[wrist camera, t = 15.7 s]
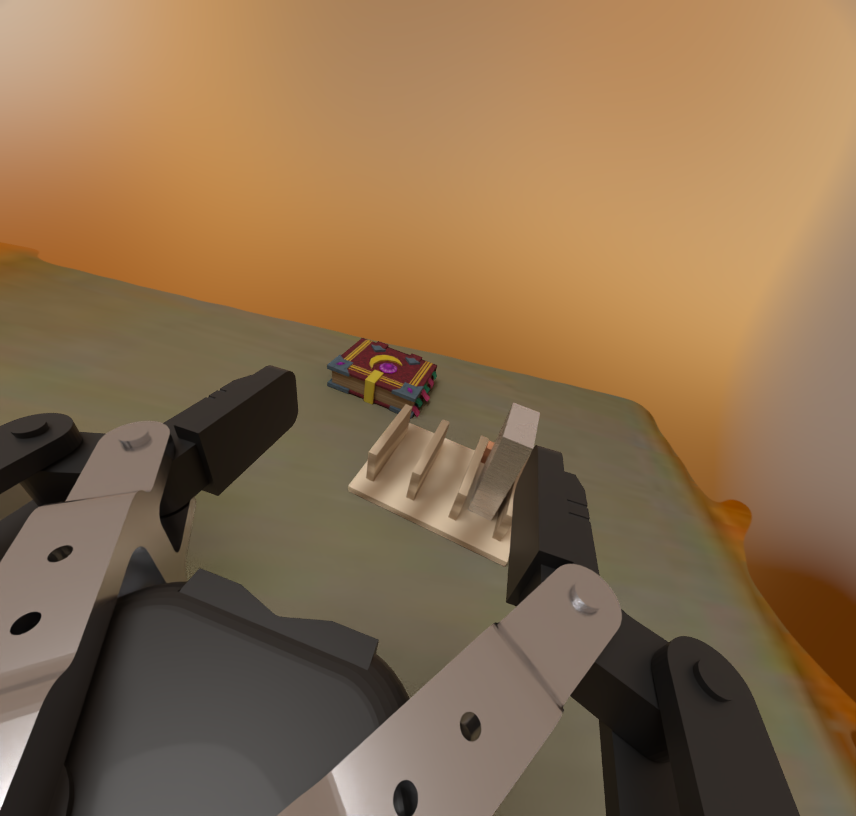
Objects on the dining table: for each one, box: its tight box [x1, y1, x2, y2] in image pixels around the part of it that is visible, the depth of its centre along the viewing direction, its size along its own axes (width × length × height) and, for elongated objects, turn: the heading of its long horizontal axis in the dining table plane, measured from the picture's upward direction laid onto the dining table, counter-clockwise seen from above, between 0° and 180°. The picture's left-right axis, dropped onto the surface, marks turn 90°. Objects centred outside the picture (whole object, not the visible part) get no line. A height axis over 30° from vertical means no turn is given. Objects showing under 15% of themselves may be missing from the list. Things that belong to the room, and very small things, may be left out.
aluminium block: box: [468, 403, 540, 521], centre depth 38 cm, size 3×6×13 cm, turn 159°
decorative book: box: [327, 338, 437, 419], centre depth 55 cm, size 11×16×5 cm
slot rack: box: [348, 404, 529, 566], centre depth 41 cm, size 20×14×6 cm
